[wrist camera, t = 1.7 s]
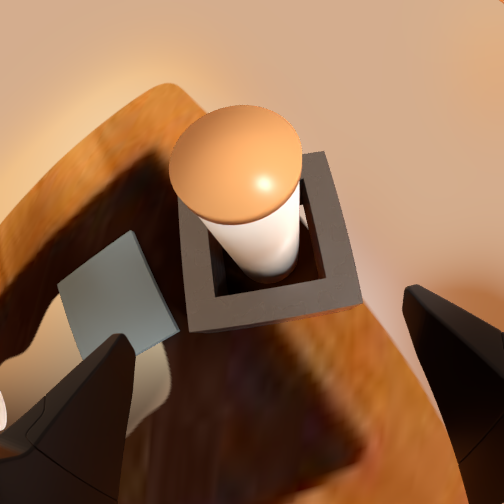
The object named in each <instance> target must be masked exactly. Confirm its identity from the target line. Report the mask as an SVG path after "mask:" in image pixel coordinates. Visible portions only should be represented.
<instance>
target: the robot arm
mask: <svg viewBox="0 0 504 504" xmlns="http://www.w3.org/2000/svg"><path fill="white" fill-rule="evenodd" d="M402 311H403V315H404V318H405V321H406V324H407V327H408V330H409V333H410V336H411V339H412V342H413V345H414V348H415V351H416V354H417V357H418V359H419V362H420V364H421V366H422V368H423V371H424V373H425V375H426V378H427V380H428V382H429V385H430V387H431V390H432V392H433V395H434V397H435V400H436V402H437V405H438V407H439V410H440V413H441V415H442V418H443V421H444V424H445V426H446V429H447V432H448V435H449V438H450V441H451V444H452V447H453V450H454V453H455V456H456V459H457V462H458V464H459V465H458V466H459V469H460V473H461V476H462V480H463V483H464V487H465V490H466V494H467V498H468V502H469V504H502V503H504V332H502V333H501V331H500V330H499V329H497V328H495V327H493V326H492V325H490V324H488V323H487V322H485V321H483V320H481V319H480V318H478V317H476V316H474V315H472V314H471V313H469V312H467V311H466V310H464V309H462V308H460V307H458V306H457V305H455V304H453V303H451V302H449V301H448V300H446V299H444V298H442V297H440V296H438V295H437V294H435V293H433V292H431V291H429V290H427V289H425V288H423V287H422V286H420V285H417V284H416V285H411V286H407V287H406V288H405V290H404V298H403V306H402ZM135 359H136V353H135V350H134V348H133V346H132V345H131V343H130V342H129V340H128V338H127V337H126V335H125V334H123V333H116V334H112V335H111V336H110V337H109V338H107V339H106V340H105V341H104V342H103V343H102V344H101V345H100V346H99V347H97V348H96V349H95V350H94V351H93V352H92V353H91V354H90V355H89V356H87V357H86V358H85V359H84V360H83V361H82V362H81V363H80V364H79V365H78V366H76V367H75V368H74V369H73V370H72V371H71V372H70V373H69V374H68V375H67V376H66V377H64V378H63V379H62V380H61V381H60V382H59V383H58V384H57V385H56V386H55V387H54V388H53V389H52V390H50V391H49V392H48V393H47V394H46V396H44V397H43V398H42V399H41V400H40V401H39V402H38V403H37V404H35V405H34V406H33V407H32V408H31V409H30V410H29V411H28V412H27V413H25V414H24V415H23V416H22V417H21V418H20V419H18V420H17V421H16V422H15V423H13V424H12V425H11V426H10V427H8V428H7V429H6V430H5V431H4V432H2V434H0V504H118V501H117V500H118V493H119V483H120V474H121V466H122V458H123V450H124V443H125V437H126V430H127V424H128V418H129V412H130V406H131V399H132V393H133V382H134V370H135Z"/></svg>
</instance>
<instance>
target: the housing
mask: <svg viewBox="0 0 504 504" xmlns="http://www.w3.org/2000/svg"><path fill="white" fill-rule="evenodd" d="M299 205H303V207H304V211H305V215H306V220H307V224H308V229H309V233H310V238H311V243H312V247H313V252H314V257H315V262H316V267H317V272H318V277H319V280H313V281H308V282H303V283H297V284H292V285H286V286H281V287H275V288H269V289H263V290H257V291H252V292H246V293H239V294H233V295H228V288H227V280H226V272H225V264H224V256H223V248H222V245H221V244H220V243H219V242H218V240H217V239H216V238H215V237H214V235H213V234H212V233H211V232H210V230H209V229H208V228H207V227H206V225H205V224H204V223H203V222H202V221H201V219H200V218H199V217H198V216H197V215H196V214H194V213H193V212H192V211H191V210H189V208H188V207H187V206H186V205H185V204H184V203H183V201H182V200H181V199H180V198H179V196H178V211H179V227H180V242H181V255H182V267H183V278H184V289H185V298H186V308H187V317H188V325H189V332H195V333H215V332H222V331H230V330H237V329H244V328H250V327H257V326H263V325H270V324H276V323H282V322H288V321H293V320H299V319H305V318H310V317H315V316H320V315H326V314H331V313H336V312H341V311H345V310H350V309H352V308H354V307H356V306H358V305H360V304H362V303H363V300H362V295H361V290H360V285H359V280H358V276H357V271H356V266H355V262H354V258H353V253H352V249H351V245H350V241H349V237H348V233H347V229H346V225H345V221H344V218H343V214H342V210H341V207H340V203H339V199H338V196H337V192H336V189H335V185H334V182H333V179H332V175H331V172H330V168H329V165H328V162H327V159H326V156H325V152H324V151H322V152H314V153H308V154H302V172H301V177H300V180H299Z"/></svg>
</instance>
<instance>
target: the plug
mask: <svg viewBox="0 0 504 504" xmlns="http://www.w3.org/2000/svg"><path fill="white" fill-rule="evenodd" d="M301 172H302V148H301V142H300V140H299V137H298V135H297V133H296V131H295V129H294V128H293V127H292V125H291V124H290V123H289V122H288V121H287V120H286V119H284V118H283V117H281V116H280V115H279V114H277V113H275V112H273V111H271V110H268V109H265V108H262V107H257V106H249V105H238V106H230V107H225V108H221V109H218V110H215V111H213V112H210V113H208V114H206V115H204V116H203V117H201V118H199V119H198V120H197V121H195V122H194V123H193V124H191V125H190V126H189V127H188V128H187V129H186V130H185V131H184V132H183V134H182V135H181V136H180V138H179V139H178V141H177V142H176V144H175V146H174V148H173V151H172V153H171V157H170V162H169V176H170V180H171V184H172V186H173V189H174V190H175V192H176V194H177V195H178V196H179V198H180V199H181V200H182V201H183V203H184V204H185V205H186V206H187V207H188V208H189V210H191V211H192V212H193V213H194V214H196V215H197V216H198V217H199V218H200V219H201V221H202V222H203V223H204V224H205V225H206V227H207V228H208V229H209V230H210V232H211V233H212V234H213V235H214V237H215V238H216V239H217V240H218V242H219V243H220V244H221V245H222V247H223V248H224V249H225V250H226V251H227V253H228V254H229V255H230V256H231V258H232V259H233V260H234V261H235V263H236V264H237V265H238V266H239V267H240V269H241V270H242V271H243V272H244V273H245V275H246V276H248V277H249V278H250V279H252V280H254V281H256V282H259V283H265V284H270V283H276V282H279V281H281V280H283V279H285V278H286V277H287V276H289V275H290V274H291V272H292V271H293V270H294V268H295V267H296V264H297V262H298V257H299V180H300V177H301Z"/></svg>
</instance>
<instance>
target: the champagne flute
mask: <svg viewBox="0 0 504 504" xmlns="http://www.w3.org/2000/svg"><path fill="white" fill-rule="evenodd" d="M6 422H7V414H6V407H5V403H4V400H3V396H2V394H1V391H0V431H1V430H3V429H4V428H5V426H6Z"/></svg>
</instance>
